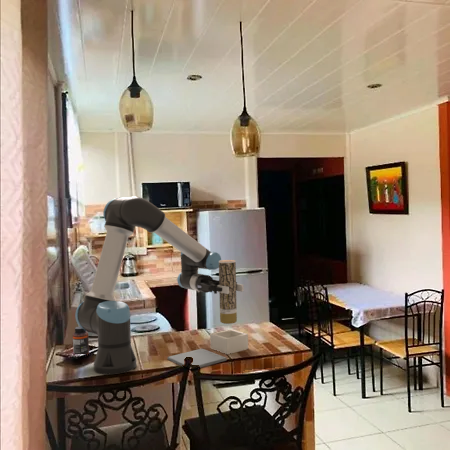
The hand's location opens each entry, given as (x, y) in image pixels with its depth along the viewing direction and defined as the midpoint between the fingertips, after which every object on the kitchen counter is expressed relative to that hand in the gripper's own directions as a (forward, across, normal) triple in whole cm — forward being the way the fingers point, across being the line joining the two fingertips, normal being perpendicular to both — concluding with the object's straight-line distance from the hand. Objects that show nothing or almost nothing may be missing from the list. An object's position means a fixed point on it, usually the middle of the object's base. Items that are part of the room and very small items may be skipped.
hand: (235, 289), depth 186 cm
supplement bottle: (-38, +49, -25) cm, 67 cm away
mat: (-2, +18, -25) cm, 31 cm away
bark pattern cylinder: (-5, 0, -14) cm, 15 cm away
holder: (-5, 0, -25) cm, 25 cm away
